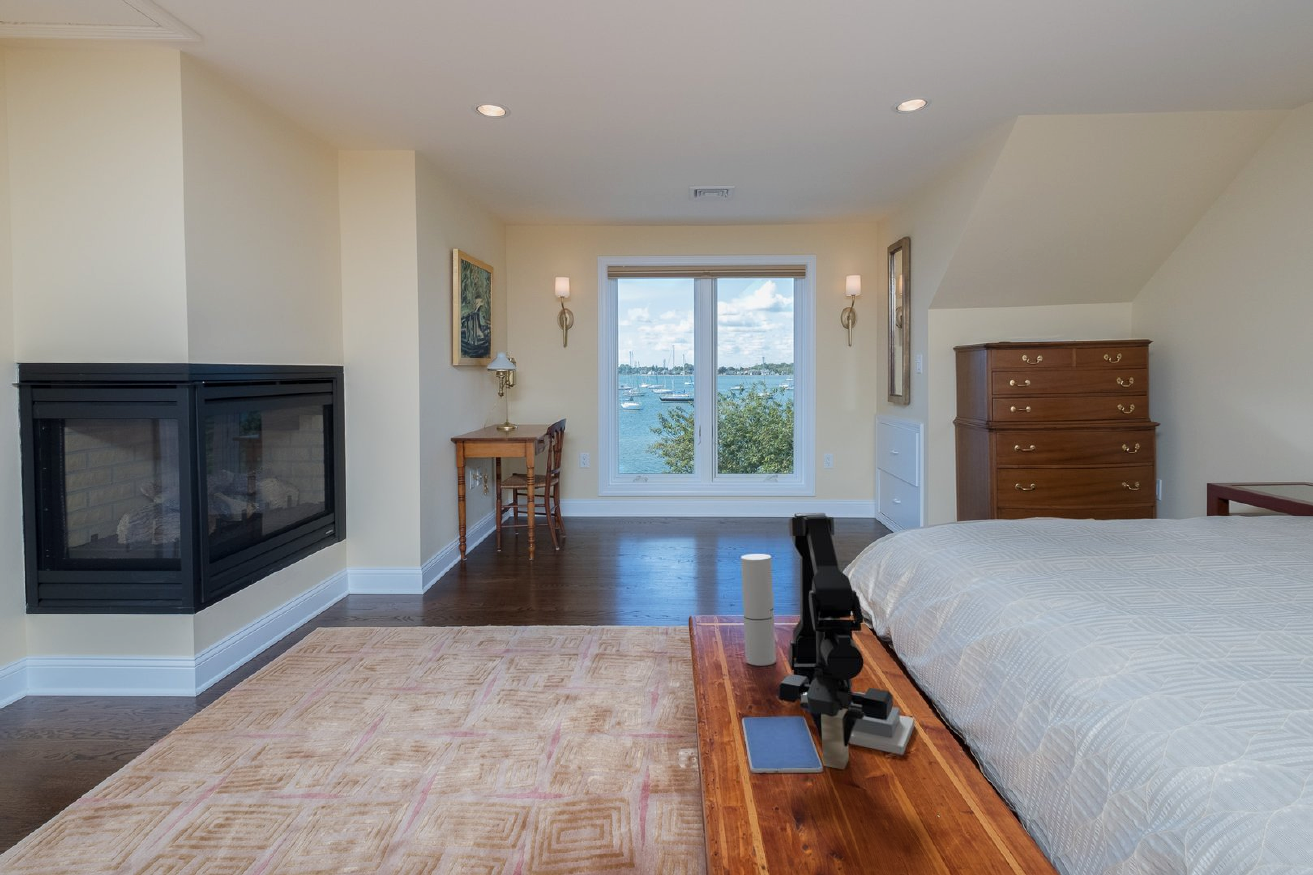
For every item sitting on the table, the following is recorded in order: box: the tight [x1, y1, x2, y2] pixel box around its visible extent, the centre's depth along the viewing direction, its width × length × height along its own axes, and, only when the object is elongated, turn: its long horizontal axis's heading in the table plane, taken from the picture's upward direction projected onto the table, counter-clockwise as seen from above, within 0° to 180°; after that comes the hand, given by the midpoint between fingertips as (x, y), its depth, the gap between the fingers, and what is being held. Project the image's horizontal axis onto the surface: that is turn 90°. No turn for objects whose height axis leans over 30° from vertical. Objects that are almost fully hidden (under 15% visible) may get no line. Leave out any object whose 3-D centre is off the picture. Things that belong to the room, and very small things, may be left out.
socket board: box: [848, 706, 916, 756], centre depth 135 cm, size 12×12×4 cm
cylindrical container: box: [740, 553, 777, 667], centre depth 171 cm, size 7×7×25 cm
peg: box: [821, 709, 850, 770], centre depth 124 cm, size 4×4×9 cm
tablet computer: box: [741, 716, 824, 774], centre depth 132 cm, size 19×13×1 cm, turn 178°
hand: (834, 742), depth 124 cm, fingers closed on peg, 4 cm apart
